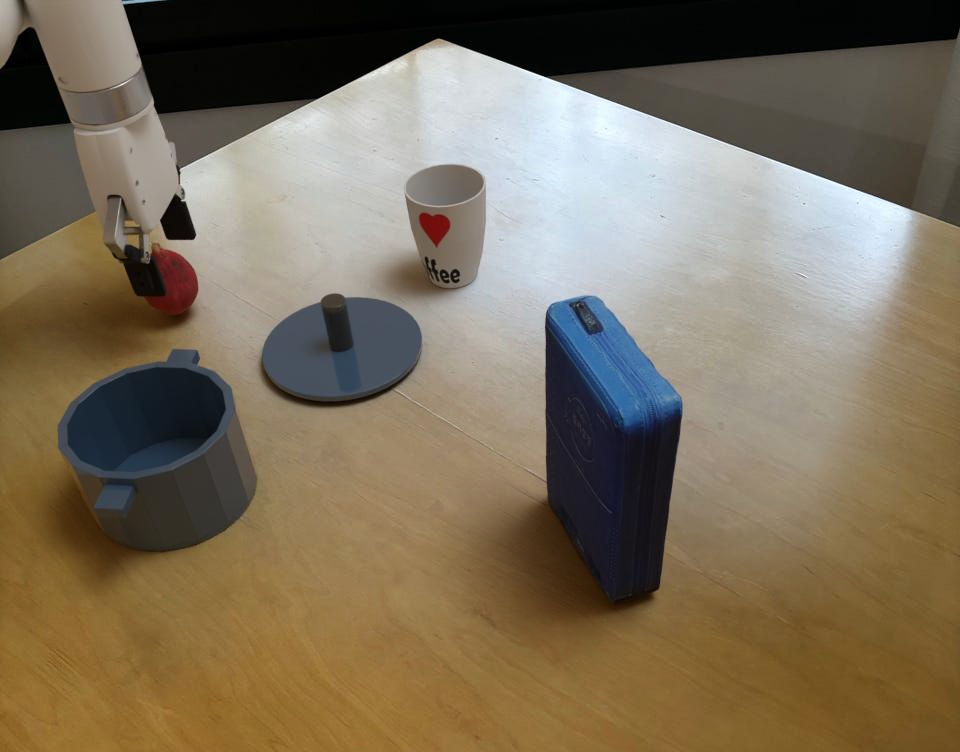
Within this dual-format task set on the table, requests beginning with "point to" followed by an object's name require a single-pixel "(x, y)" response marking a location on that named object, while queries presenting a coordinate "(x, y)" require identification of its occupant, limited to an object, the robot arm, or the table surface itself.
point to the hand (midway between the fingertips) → (167, 265)
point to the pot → (159, 453)
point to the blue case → (608, 446)
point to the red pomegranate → (174, 282)
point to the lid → (342, 348)
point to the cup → (448, 221)
